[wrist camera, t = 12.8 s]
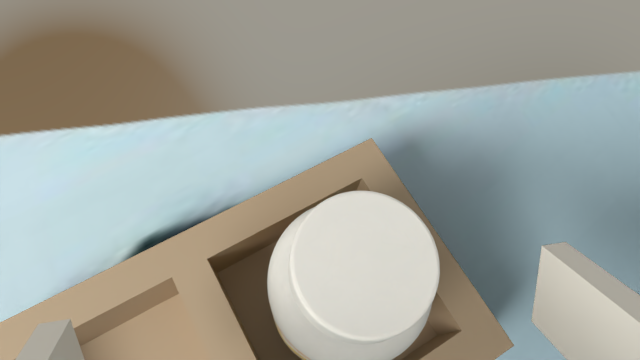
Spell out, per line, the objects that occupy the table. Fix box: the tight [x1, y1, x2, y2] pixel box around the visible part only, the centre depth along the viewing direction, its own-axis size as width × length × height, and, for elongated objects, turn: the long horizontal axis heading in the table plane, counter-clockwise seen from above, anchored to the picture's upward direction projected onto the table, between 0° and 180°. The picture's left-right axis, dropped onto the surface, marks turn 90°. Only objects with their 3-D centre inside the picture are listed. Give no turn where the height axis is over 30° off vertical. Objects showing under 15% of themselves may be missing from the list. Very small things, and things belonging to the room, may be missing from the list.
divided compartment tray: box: [0, 138, 514, 360], centre depth 18 cm, size 20×10×4 cm, turn 120°
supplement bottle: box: [267, 191, 440, 360], centre depth 16 cm, size 5×5×10 cm
